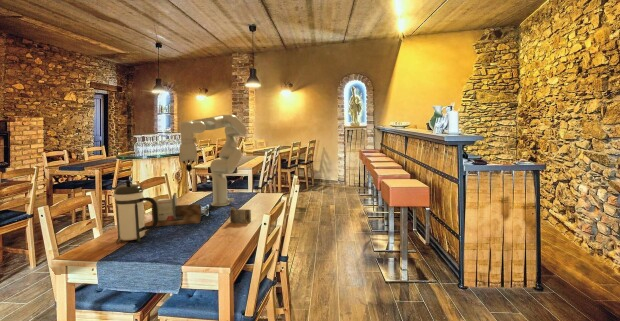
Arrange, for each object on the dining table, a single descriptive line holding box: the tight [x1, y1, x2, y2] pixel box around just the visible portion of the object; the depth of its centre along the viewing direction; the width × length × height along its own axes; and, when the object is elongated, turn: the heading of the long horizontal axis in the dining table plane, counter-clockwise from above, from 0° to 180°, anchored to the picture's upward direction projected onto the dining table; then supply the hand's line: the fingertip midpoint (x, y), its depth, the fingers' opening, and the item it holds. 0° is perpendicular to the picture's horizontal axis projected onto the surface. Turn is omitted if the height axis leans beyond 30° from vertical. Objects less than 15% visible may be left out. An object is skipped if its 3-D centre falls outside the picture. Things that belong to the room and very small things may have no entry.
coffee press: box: [111, 179, 158, 244], centre depth 175 cm, size 17×16×30 cm
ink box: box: [157, 198, 174, 221], centre depth 206 cm, size 9×5×12 cm, turn 102°
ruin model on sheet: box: [229, 206, 252, 224], centre depth 204 cm, size 11×3×10 cm, turn 83°
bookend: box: [171, 192, 185, 220], centre depth 208 cm, size 5×9×14 cm, turn 14°
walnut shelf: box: [151, 198, 202, 227], centre depth 208 cm, size 25×16×12 cm, turn 104°
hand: (189, 171), depth 221 cm, fingers closed
